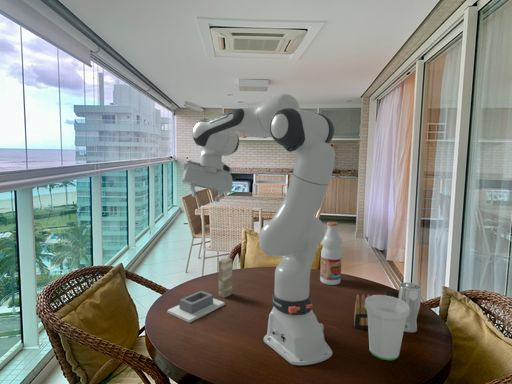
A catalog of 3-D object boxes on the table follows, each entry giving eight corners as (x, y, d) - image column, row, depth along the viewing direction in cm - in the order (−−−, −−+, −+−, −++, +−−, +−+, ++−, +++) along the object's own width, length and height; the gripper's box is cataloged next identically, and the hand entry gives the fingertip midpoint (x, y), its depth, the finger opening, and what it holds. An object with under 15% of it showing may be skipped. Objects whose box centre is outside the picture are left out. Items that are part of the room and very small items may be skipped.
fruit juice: (325, 276, 163) (327, 219, 160) (343, 281, 157) (346, 222, 154) (316, 282, 155) (318, 222, 152) (335, 287, 150) (337, 225, 146)
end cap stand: (224, 304, 130) (224, 293, 130) (189, 322, 116) (189, 310, 116) (203, 296, 138) (202, 286, 137) (167, 312, 123) (167, 301, 123)
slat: (232, 294, 141) (232, 259, 139) (224, 297, 137) (224, 262, 135) (226, 292, 143) (226, 257, 141) (218, 296, 139) (218, 260, 137)
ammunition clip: (354, 328, 114) (355, 294, 113) (353, 325, 116) (354, 292, 115) (386, 329, 114) (388, 295, 112) (384, 327, 116) (386, 293, 114)
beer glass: (405, 334, 111) (408, 291, 109) (391, 324, 117) (394, 283, 116) (423, 331, 113) (426, 289, 111) (408, 321, 119) (411, 281, 117)
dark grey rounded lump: (379, 310, 128) (380, 289, 127) (395, 307, 130) (396, 287, 129) (392, 319, 121) (393, 298, 120) (409, 316, 123) (410, 295, 122)
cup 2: (411, 367, 94) (415, 315, 92) (365, 362, 96) (368, 311, 94) (400, 342, 106) (403, 296, 104) (359, 338, 108) (361, 293, 106)
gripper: (188, 156, 126) (183, 191, 122) (235, 170, 136) (232, 202, 132) (182, 161, 131) (177, 195, 127) (228, 174, 141) (225, 205, 137)
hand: (205, 199), depth 130 cm, fingers open, 8 cm apart
